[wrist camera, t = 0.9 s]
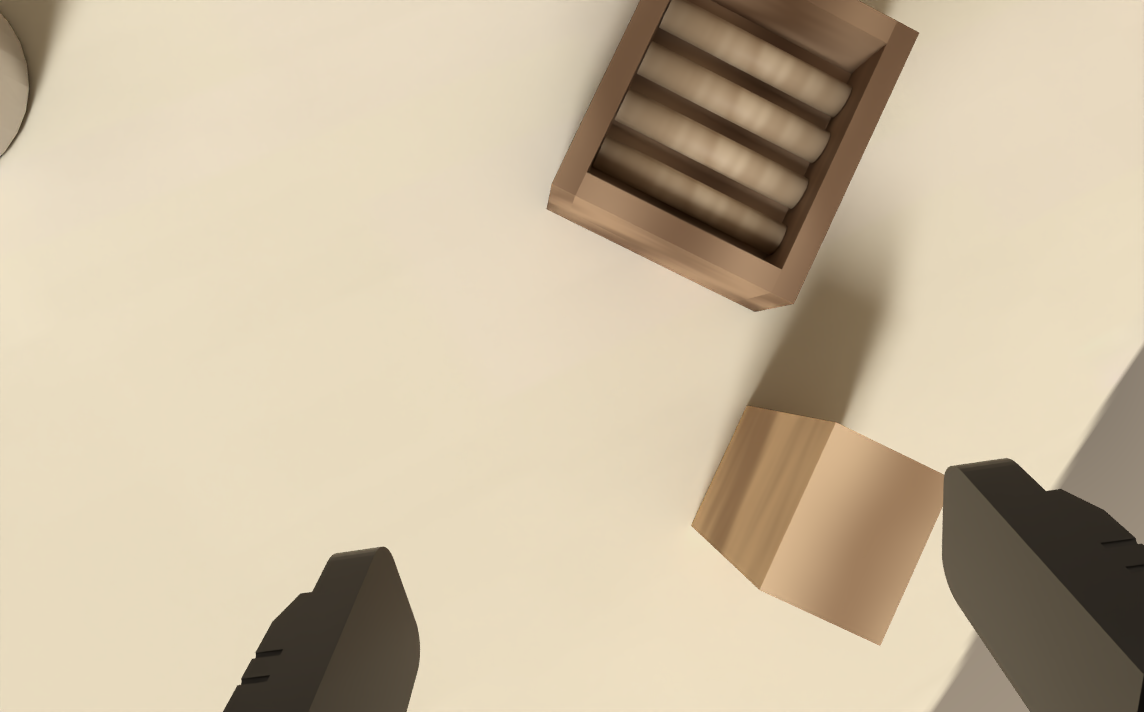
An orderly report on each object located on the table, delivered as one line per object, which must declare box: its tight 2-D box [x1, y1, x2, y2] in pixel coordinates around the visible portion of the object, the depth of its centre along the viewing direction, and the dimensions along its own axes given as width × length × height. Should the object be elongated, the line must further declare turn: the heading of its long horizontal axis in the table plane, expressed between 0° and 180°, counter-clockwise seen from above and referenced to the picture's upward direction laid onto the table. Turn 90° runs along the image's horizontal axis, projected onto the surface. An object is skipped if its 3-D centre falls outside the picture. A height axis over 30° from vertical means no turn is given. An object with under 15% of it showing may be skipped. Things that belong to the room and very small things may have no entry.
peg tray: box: [547, 0, 919, 312], centre depth 30 cm, size 10×12×4 cm
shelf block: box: [691, 405, 944, 645], centre depth 28 cm, size 4×6×9 cm
